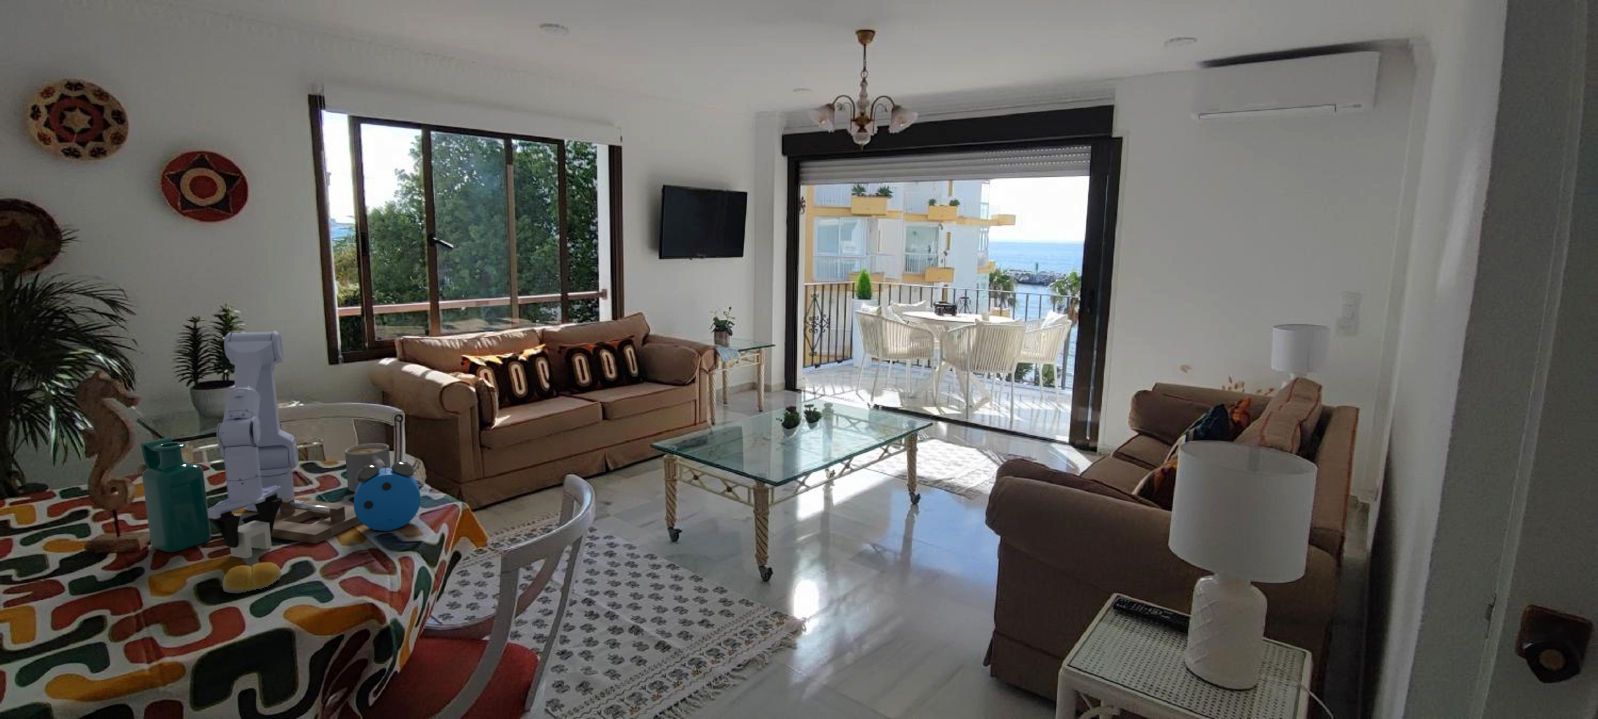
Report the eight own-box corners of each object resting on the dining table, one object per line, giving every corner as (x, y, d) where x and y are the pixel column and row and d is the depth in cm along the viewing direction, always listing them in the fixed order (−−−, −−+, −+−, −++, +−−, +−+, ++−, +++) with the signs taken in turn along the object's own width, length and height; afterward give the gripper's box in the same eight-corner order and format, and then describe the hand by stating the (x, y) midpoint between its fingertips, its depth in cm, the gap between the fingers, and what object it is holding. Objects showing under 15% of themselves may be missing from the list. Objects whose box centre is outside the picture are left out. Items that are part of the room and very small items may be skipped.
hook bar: (284, 508, 174) (284, 502, 173) (290, 506, 175) (289, 500, 175) (335, 515, 170) (334, 509, 170) (340, 513, 172) (339, 507, 171)
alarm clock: (421, 517, 179) (417, 456, 176) (422, 527, 173) (418, 463, 171) (356, 527, 172) (351, 463, 170) (356, 537, 167) (350, 471, 164)
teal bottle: (215, 539, 164) (204, 441, 160) (170, 554, 156) (156, 451, 153) (189, 531, 168) (177, 434, 164) (143, 545, 161) (130, 444, 157)
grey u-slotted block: (231, 555, 157) (228, 530, 156) (256, 545, 162) (253, 520, 161) (246, 558, 156) (243, 532, 155) (271, 547, 161) (269, 522, 160)
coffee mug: (344, 484, 200) (341, 447, 198) (386, 476, 206) (384, 441, 204) (355, 498, 190) (351, 459, 188) (398, 490, 196) (396, 453, 194)
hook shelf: (249, 533, 168) (246, 511, 167) (311, 508, 183) (309, 488, 182) (315, 543, 163) (313, 521, 162) (374, 516, 179) (372, 496, 178)
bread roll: (281, 587, 145) (279, 567, 144) (222, 598, 140) (220, 578, 139) (281, 570, 151) (279, 551, 151) (225, 580, 147) (223, 561, 146)
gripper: (224, 489, 148) (232, 555, 150) (290, 467, 162) (296, 528, 164) (196, 486, 150) (204, 551, 152) (264, 464, 164) (270, 524, 166)
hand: (250, 539), depth 158 cm, fingers open, 7 cm apart
